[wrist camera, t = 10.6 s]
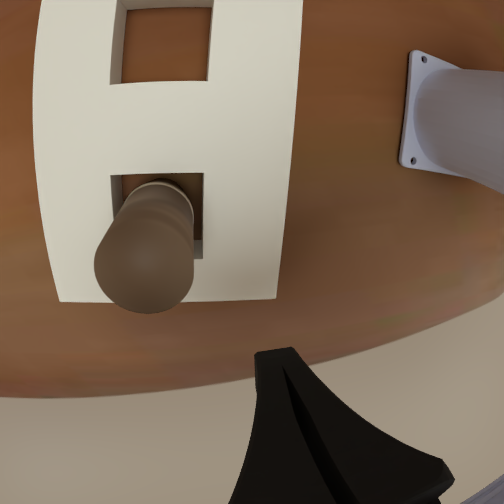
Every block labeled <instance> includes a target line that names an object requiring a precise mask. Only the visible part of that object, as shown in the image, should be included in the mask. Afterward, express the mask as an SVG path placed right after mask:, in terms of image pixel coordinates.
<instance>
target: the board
mask: <svg viewBox="0 0 504 504" xmlns="http://www.w3.org/2000/svg"><path fill="white" fill-rule="evenodd" d="M165 7H212V12H211V23H210V35H209V48H208V63H207V78H206V81H165V82H141V83H126V84H121V76H122V59H123V46H124V34H125V24H126V15H127V10H134V9H146V8H165ZM302 7H303V0H42V3H41V9H40V15H39V22H38V30H37V38H36V48H35V60H34V77H33V138H34V155H35V168H36V178H37V187H38V195H39V203H40V210H41V217H42V223H43V229H44V234H45V240H46V245H47V250H48V255H49V259H50V264H51V268H52V273H53V277H54V281H55V285H56V289H57V293H58V297H59V300H60V302H113V301H111V300H110V299H109V298H108V297H107V296H106V295H105V294H104V292H103V291H102V289H101V288H100V286H99V284H98V282H97V280H96V277H95V272H94V257H95V253H96V250H97V247H98V246H99V244H100V242H101V240H102V239H103V237H104V235H105V234H106V232H107V230H108V229H109V227H110V225H111V224H112V222H113V220H114V219H115V217H116V216H117V214H118V212H119V211H120V209H121V208H122V206H123V197H122V179H121V175H122V174H148V173H202V240H193V243H194V278H193V283H192V286H191V288H190V290H189V292H188V294H187V295H186V296H185V298H184V299H183V300H182V301H181V302H203V301H234V300H259V299H276V293H277V285H278V276H279V268H280V259H281V251H282V242H283V233H284V223H285V214H286V204H287V195H288V185H289V174H290V164H291V153H292V142H293V131H294V120H295V108H296V95H297V82H298V69H299V55H300V40H301V24H302Z"/></svg>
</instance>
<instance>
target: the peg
mask: <svg viewBox="0 0 504 504" xmlns="http://www.w3.org/2000/svg"><path fill="white" fill-rule="evenodd" d="M193 223H194V213H193V208H192V205H191V202H190V200H189V199H188V197H187V196H186V195H185V193H184V191H183V189H182V188H181V187H180V186H179V185H178V184H177V183H176V182H174V181H172V180H170V179H166V178H159V179H154V180H152V181H150V182H148V183H146V184H143V185H141V186H139V187H137V188H136V189H135V190H134V191H132V192H131V194H130V195H129V196H128V198H127V199H126V201H125V202H124V204H123V206H122V208H121V209H120V211H119V212H118V214H117V216H116V217H115V219H114V220H113V222H112V224H111V225H110V227H109V229H108V230H107V232H106V234H105V235H104V237H103V239H102V240H101V242H100V244H99V246H98V247H97V250H96V253H95V257H94V272H95V277H96V280H97V282H98V284H99V286H100V288H101V289H102V291H103V292H104V294H105V295H106V296H107V297H108V298H109V299H110V300H111V301H113V302H114V303H115V304H117V305H118V306H120V307H122V308H124V309H126V310H129V311H132V312H137V313H144V314H152V313H159V312H163V311H166V310H168V309H170V308H172V307H174V306H176V305H177V304H178V303H180V302H181V301H182V300H183V299H184V298H185V296H186V295H187V294H188V292H189V290H190V288H191V286H192V283H193V278H194V243H193Z"/></svg>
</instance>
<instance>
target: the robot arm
mask: <svg viewBox="0 0 504 504" xmlns="http://www.w3.org/2000/svg"><path fill="white" fill-rule="evenodd" d="M421 57H423V60H424V62H422V60H421ZM412 157H413V162H412V163H411V161H410V160H411V158H412ZM399 163H400V164H401V165H402V166H404V167H407V168H414V169H420V170H427V171H433V172H438V173H444V174H450V175H455V176H460V177H465V178H469V179H471V180H474V181H476V182H478V183H480V184H483V185H485V186H487V187H489V188H491V189H494V190H496V191H498V192H500V193H502V194H504V72H500V71H487V70H470V69H461V68H459V67H457V66H455V65H452V64H450V63H448V62H446V61H443V60H441V59H439V58H436V57H434V56H431V55H429V54H426V53H424V52H421V51H418V50H413V51H411V52H410V55H409V71H408V85H407V96H406V107H405V116H404V124H403V132H402V140H401V147H400V154H399ZM254 359H255V382H256V383H255V385H256V392H257V401H256V408H255V415H254V422H253V428H252V432H251V437H250V441H249V446H248V449H247V452H246V456H245V460H244V463H243V466H242V469H241V472H240V476H239V478H238V481H237V483H236V486H235V489H234V491H233V494H232V496H231V499H230V501H229V503H228V504H441V502H440V501H439V499H438V497H439V496H440V495H442V493H444V492H445V491H446V490H447V489H448V488H450V486H452V485H453V483H454V480H455V478H454V477H453V475H452V473H451V471H450V470H449V468H448V467H447V465H446V464H445V463H444V461H443V460H442V459H440V458H437V457H435V456H432V455H429V454H427V453H424V452H422V451H419V450H417V449H415V448H413V447H411V446H408V445H406V444H404V443H402V442H400V441H399V440H397V439H395V438H393V437H392V436H390V435H388V434H386V433H384V432H383V431H381V430H380V429H378V428H376V427H375V426H373V425H372V424H371V423H369V422H368V421H366V420H365V419H364V418H362V417H361V416H360V415H358V414H357V413H356V412H354V411H353V410H352V409H351V408H349V407H348V406H347V405H346V404H345V403H344V402H342V401H341V400H340V399H339V398H338V397H337V396H336V395H335V394H334V393H333V392H332V391H331V390H330V389H329V388H328V387H327V386H326V385H325V384H324V383H323V382H322V381H321V380H320V379H319V378H318V377H317V376H316V375H315V374H314V372H312V370H311V369H310V368H309V367H308V366H307V364H306V363H305V362H304V361H303V360H302V358H301V357H300V356H299V354H298V353H297V352H296V351H295V349H294V348H292V347H287V348H281V349H274V350H268V351H261V352H257V353H256V354H255V355H254ZM460 504H504V474H503V475H502V476H500V477H499V478H498V479H496V480H495V481H493V482H492V483H491V484H489V485H488V486H486V487H485V488H483V489H482V490H481V491H479V492H478V493H476V494H475V495H473V496H471V497H470V498H468V499H467V500H465V501H464V502H462V503H460Z"/></svg>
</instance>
